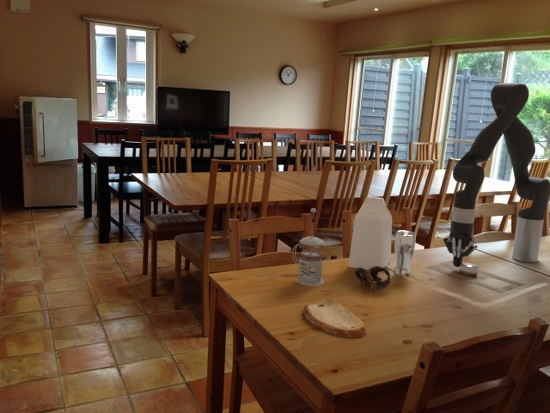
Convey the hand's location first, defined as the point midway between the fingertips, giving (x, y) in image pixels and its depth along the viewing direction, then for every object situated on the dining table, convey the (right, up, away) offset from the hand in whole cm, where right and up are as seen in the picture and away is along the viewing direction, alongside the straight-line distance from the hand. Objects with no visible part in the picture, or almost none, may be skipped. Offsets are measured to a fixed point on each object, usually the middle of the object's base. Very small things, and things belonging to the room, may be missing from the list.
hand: (456, 266), depth 178 cm
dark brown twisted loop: (-34, -5, -16) cm, 38 cm away
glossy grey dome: (+3, -2, -3) cm, 5 cm away
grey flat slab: (+4, -4, -5) cm, 7 cm away
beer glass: (-20, -3, -2) cm, 21 cm away
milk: (-31, -1, +5) cm, 31 cm away
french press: (-55, -3, -12) cm, 56 cm away
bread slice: (-50, -10, -42) cm, 66 cm away
